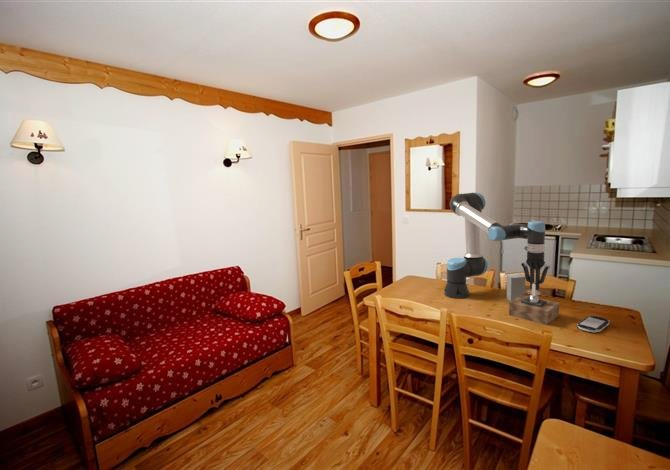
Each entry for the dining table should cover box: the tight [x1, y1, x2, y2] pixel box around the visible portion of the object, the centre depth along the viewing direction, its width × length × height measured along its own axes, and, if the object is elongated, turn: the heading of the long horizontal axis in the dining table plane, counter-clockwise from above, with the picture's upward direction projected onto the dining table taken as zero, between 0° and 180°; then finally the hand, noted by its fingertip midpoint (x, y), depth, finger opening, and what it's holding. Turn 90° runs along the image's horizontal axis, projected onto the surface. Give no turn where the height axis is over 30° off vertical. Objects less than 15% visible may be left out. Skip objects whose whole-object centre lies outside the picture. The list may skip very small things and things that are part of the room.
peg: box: [529, 293, 540, 303], centre depth 168 cm, size 4×4×8 cm
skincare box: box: [506, 273, 526, 302], centre depth 189 cm, size 8×7×16 cm
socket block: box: [508, 294, 560, 326], centre depth 168 cm, size 18×16×8 cm
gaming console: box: [576, 315, 611, 334], centre depth 153 cm, size 19×9×2 cm, turn 124°
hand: (534, 295), depth 167 cm, fingers closed
